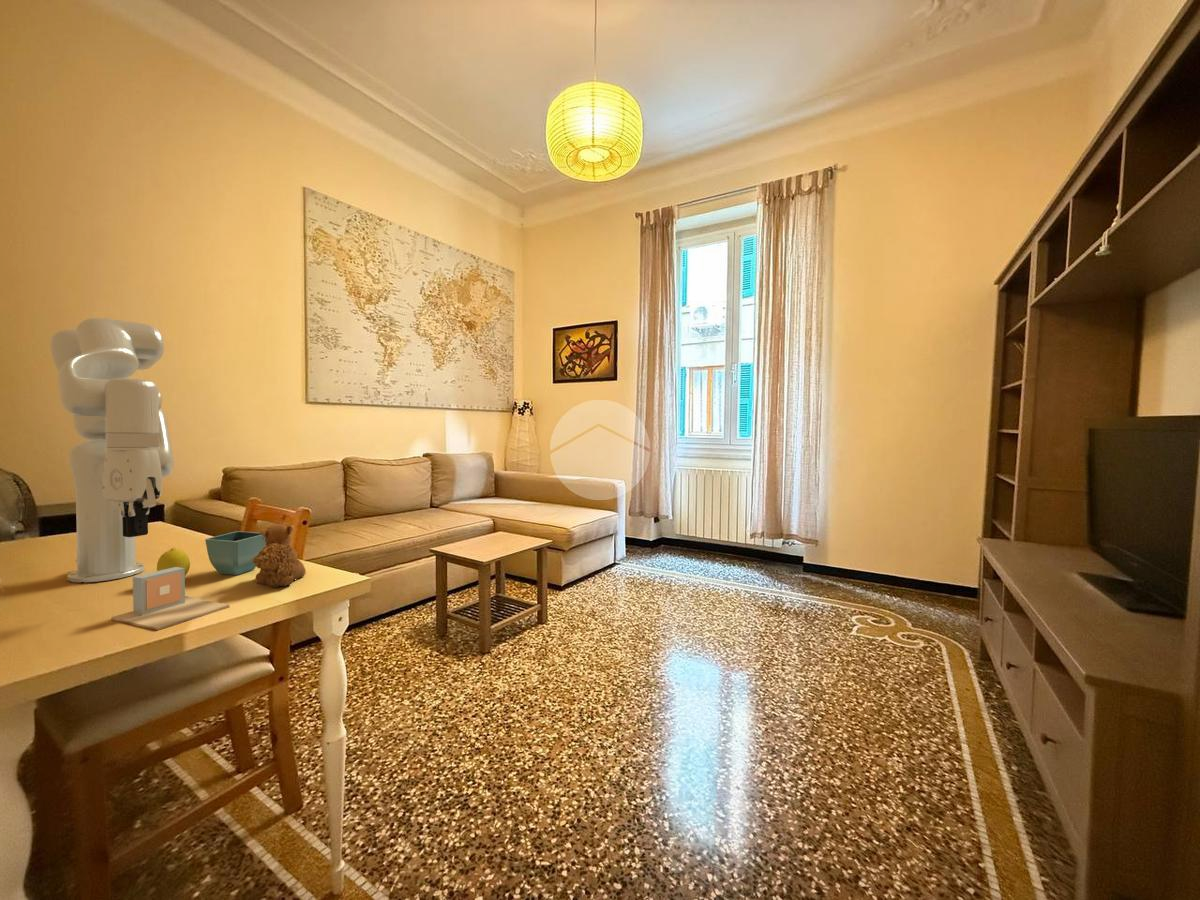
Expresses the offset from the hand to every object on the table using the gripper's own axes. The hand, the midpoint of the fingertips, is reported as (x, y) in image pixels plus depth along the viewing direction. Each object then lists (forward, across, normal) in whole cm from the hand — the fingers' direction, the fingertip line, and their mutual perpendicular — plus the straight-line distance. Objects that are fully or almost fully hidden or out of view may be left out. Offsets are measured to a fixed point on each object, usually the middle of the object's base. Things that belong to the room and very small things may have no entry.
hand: (135, 535), depth 94 cm
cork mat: (+14, +10, 0) cm, 17 cm away
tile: (+14, +6, 0) cm, 15 cm away
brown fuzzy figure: (+14, +11, +21) cm, 28 cm away
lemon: (+14, -9, +11) cm, 20 cm away
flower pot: (+14, -5, +22) cm, 27 cm away
